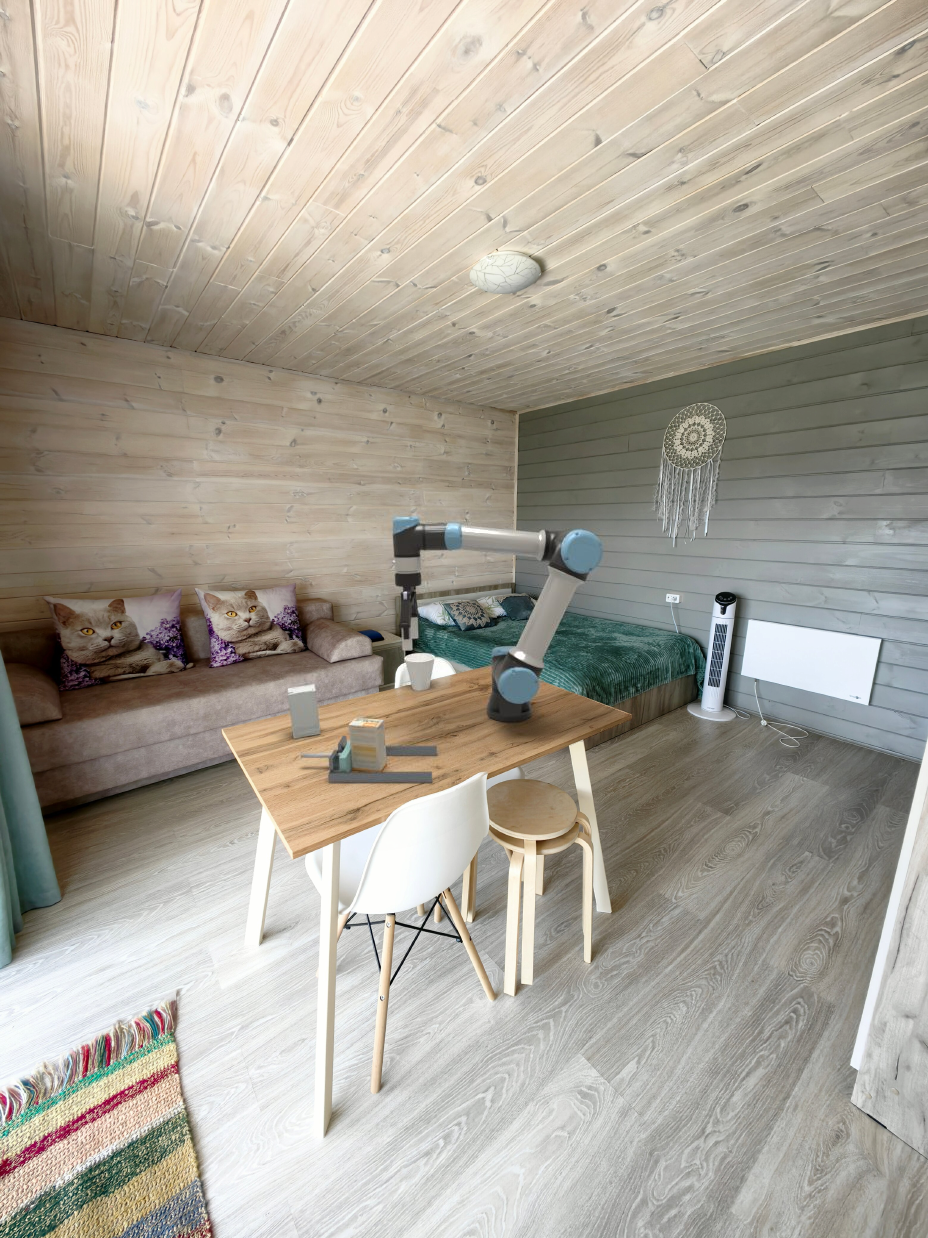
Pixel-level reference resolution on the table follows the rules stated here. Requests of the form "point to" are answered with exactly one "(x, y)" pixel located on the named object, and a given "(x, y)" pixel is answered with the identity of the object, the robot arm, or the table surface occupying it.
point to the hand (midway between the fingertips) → (410, 644)
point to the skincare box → (303, 711)
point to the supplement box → (367, 744)
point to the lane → (381, 776)
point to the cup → (420, 670)
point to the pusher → (343, 758)
